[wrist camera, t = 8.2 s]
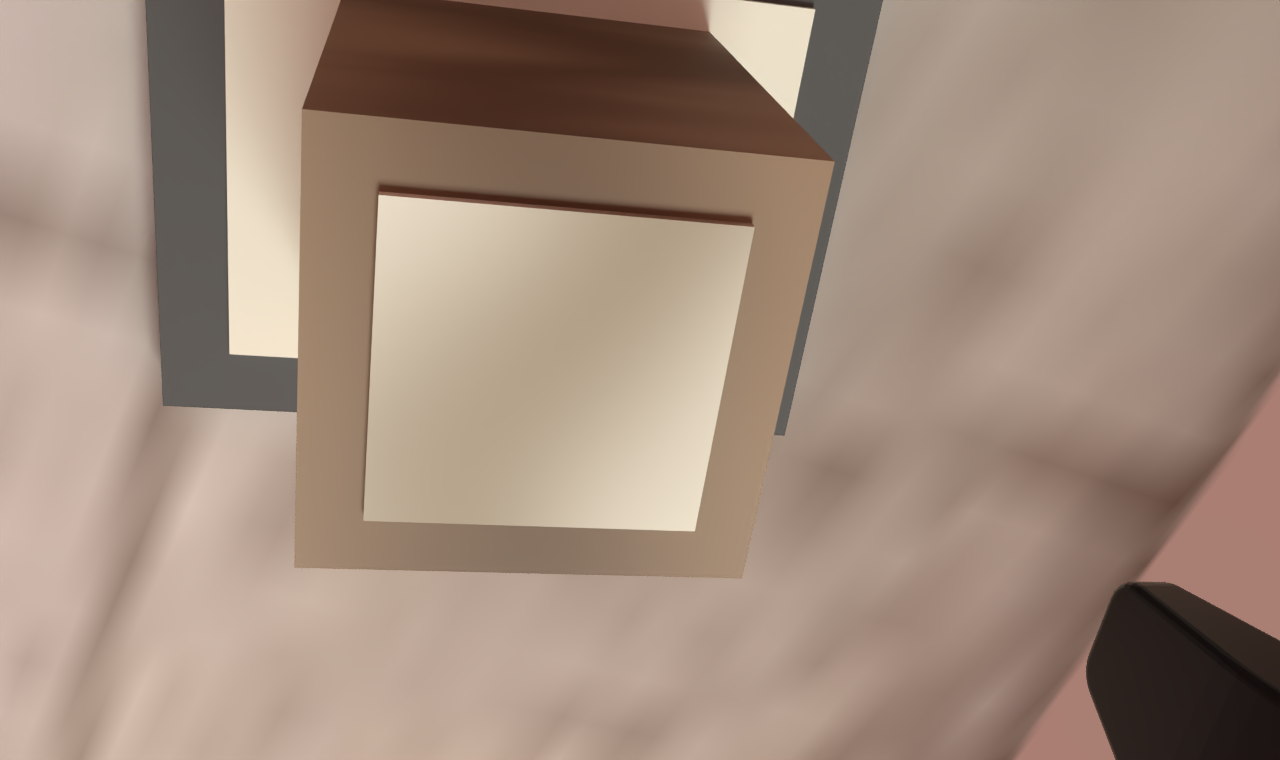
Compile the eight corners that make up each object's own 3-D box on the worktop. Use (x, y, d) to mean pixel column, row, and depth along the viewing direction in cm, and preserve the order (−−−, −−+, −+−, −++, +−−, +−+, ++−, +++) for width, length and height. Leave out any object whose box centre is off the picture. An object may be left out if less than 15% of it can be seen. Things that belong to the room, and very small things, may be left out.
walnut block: (709, 31, 17) (838, 165, 12) (656, 349, 19) (743, 583, 14) (345, -12, 16) (301, 111, 10) (334, 328, 18) (293, 573, 13)
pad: (877, -65, 17) (897, -56, 17) (772, 412, 21) (786, 438, 20) (152, -165, 15) (136, -160, 15) (173, 381, 19) (161, 408, 18)
